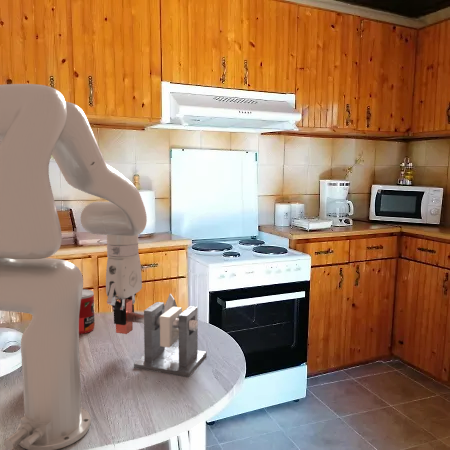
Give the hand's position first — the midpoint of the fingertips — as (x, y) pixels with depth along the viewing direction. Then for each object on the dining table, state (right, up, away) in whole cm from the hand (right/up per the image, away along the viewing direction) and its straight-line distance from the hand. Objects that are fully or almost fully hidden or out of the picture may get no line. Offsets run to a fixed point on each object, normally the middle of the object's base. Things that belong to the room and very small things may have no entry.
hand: (124, 320), depth 108 cm
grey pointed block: (+10, -7, +18) cm, 22 cm away
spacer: (+12, 0, -4) cm, 13 cm away
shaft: (+9, -3, -2) cm, 9 cm away
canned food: (-17, -6, +17) cm, 25 cm away
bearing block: (+12, -9, -3) cm, 16 cm away
